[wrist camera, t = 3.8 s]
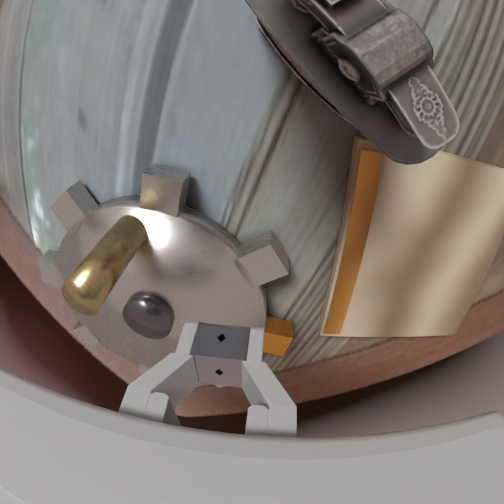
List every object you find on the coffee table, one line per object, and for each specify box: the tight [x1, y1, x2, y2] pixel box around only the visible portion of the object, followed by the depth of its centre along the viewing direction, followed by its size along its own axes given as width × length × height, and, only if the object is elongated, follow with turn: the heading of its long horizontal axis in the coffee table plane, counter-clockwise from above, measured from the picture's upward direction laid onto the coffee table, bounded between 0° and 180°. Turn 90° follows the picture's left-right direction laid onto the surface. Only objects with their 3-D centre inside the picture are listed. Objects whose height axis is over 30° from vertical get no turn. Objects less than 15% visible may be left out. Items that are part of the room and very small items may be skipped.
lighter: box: [245, 0, 459, 165], centre depth 8 cm, size 8×3×10 cm, turn 42°
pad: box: [319, 135, 504, 337], centre depth 17 cm, size 12×14×1 cm
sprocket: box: [38, 164, 293, 388], centre depth 18 cm, size 20×20×8 cm
